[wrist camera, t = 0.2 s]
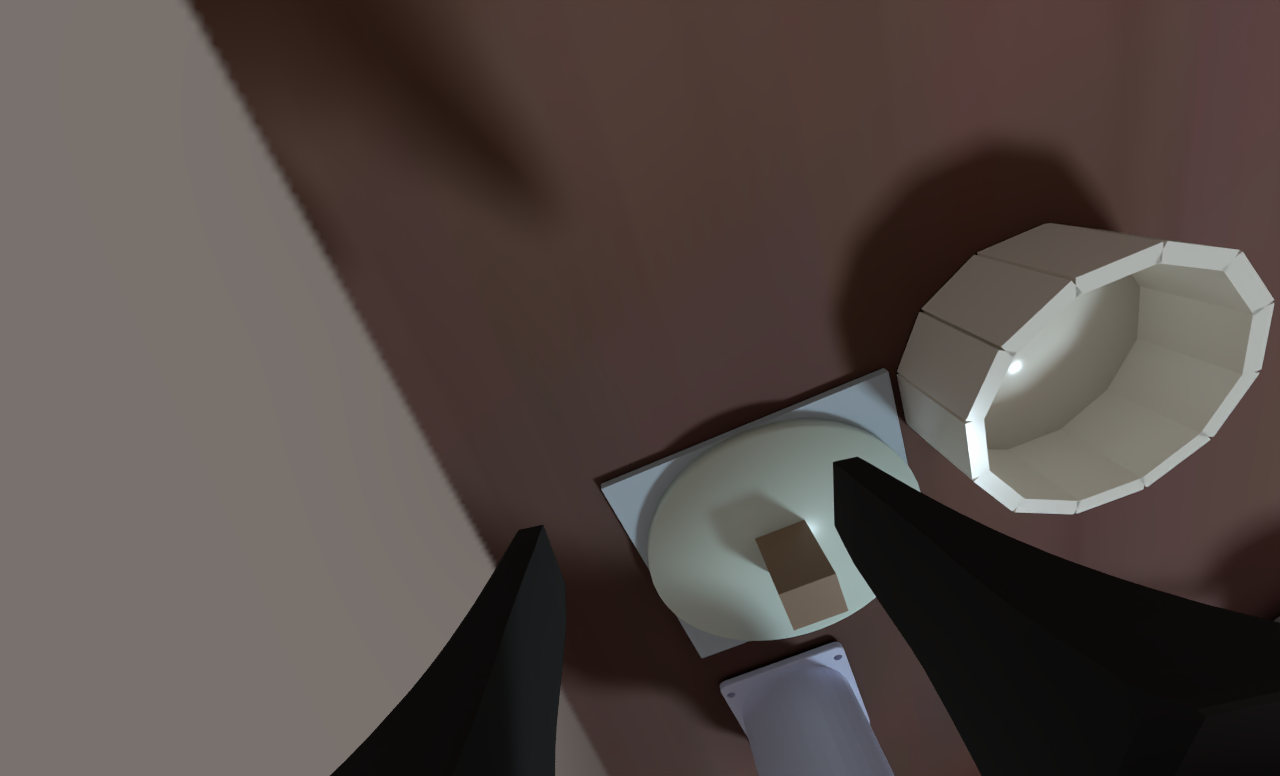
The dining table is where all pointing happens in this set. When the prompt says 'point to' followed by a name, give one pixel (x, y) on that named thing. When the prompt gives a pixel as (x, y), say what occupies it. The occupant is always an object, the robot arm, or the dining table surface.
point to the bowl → (1082, 362)
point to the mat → (848, 403)
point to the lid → (763, 532)
